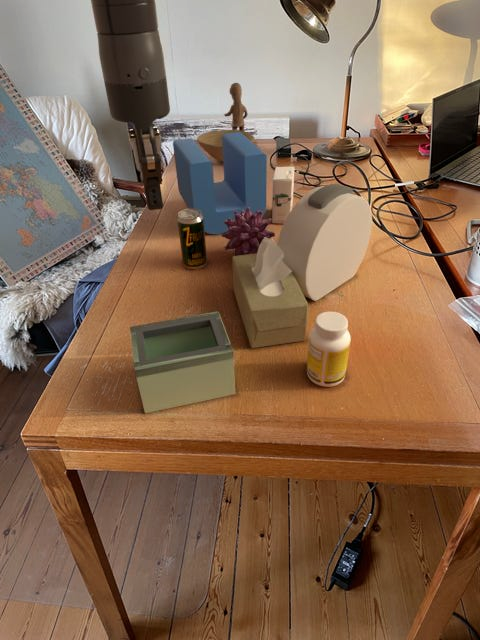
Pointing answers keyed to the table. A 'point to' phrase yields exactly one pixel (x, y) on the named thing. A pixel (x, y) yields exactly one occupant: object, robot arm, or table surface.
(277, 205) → the ink box
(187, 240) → the beer can
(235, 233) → the flower
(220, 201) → the block
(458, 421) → the table surface
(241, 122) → the figurine
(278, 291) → the tissue box
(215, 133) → the bowl
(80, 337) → the table surface
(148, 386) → the pale green open box
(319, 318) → the pill bottle
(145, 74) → the robot arm
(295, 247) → the alarm clock
